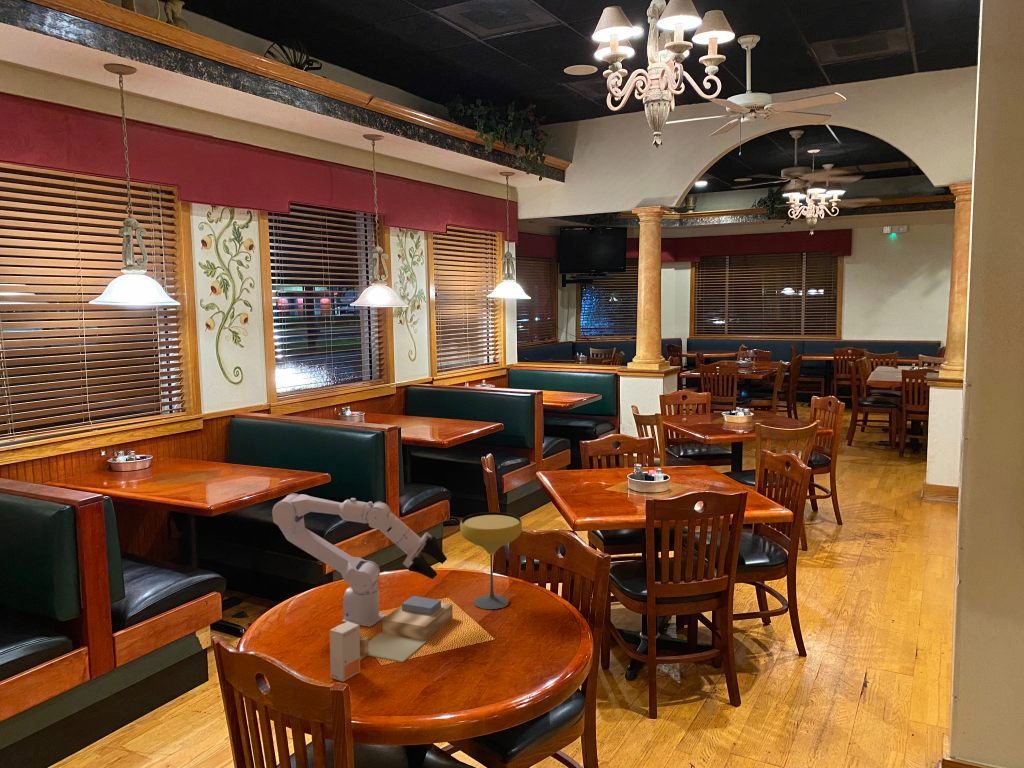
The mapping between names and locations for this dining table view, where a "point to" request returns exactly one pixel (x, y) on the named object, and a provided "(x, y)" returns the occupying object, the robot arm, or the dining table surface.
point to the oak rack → (363, 647)
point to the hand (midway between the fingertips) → (439, 568)
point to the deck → (416, 623)
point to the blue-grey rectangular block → (421, 605)
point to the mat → (393, 647)
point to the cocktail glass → (491, 543)
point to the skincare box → (345, 651)
